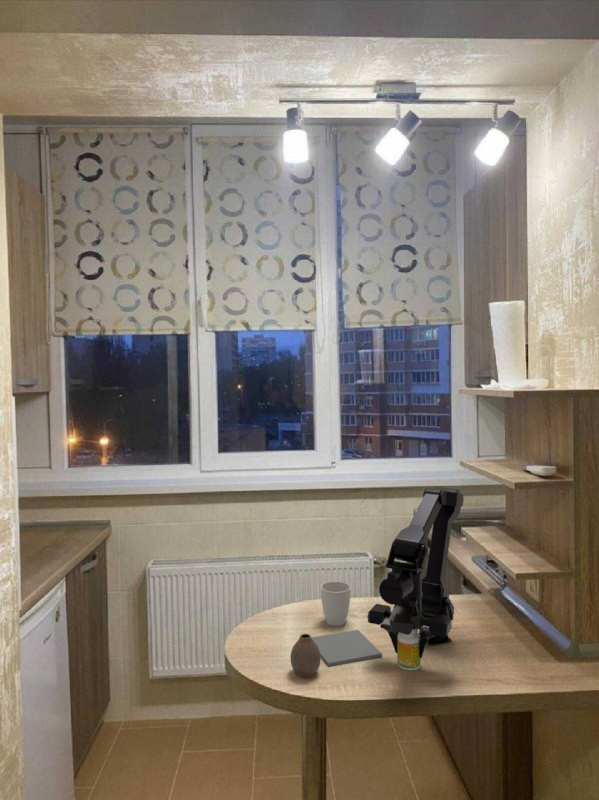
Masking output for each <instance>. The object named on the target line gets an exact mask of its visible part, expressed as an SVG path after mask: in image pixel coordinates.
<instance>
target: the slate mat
mask: <svg viewBox="0 0 599 800" xmlns="http://www.w3.org/2000/svg"><path fill="white" fill-rule="evenodd" d="M311 638H312V640H313V641H314V642H315V643H316V645H317V646H318V648H319V651H320V656H321V659H322V660H323V662H324V663H325V664H326V665H327V666H328V667H333V666H337V665H338V666H339V665H342V664H343V665H344V664H348V663H356V662H360V661H366V660H367V661H368V660H371V659H377V658H382V657H383V653H382V652H381V651H380V650H379V649H378V648H377V647H376V646H375V645H374V644H373V643H372V642H371V641H370V640H369V639H368V638H367V637H366V636H365V635H364V634H363V633H362V632H361V631H360V630H359V629H354V630H350V631H343V632H341V631H340V632H336V633H330V634H325V635H317V636H311Z"/></svg>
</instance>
